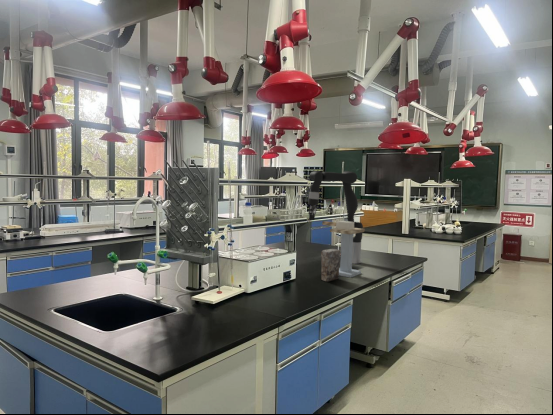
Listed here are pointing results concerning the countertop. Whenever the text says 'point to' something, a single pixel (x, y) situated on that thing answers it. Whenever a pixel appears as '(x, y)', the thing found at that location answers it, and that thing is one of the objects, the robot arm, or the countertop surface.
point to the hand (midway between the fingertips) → (311, 220)
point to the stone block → (330, 264)
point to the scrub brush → (340, 224)
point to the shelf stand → (347, 251)
